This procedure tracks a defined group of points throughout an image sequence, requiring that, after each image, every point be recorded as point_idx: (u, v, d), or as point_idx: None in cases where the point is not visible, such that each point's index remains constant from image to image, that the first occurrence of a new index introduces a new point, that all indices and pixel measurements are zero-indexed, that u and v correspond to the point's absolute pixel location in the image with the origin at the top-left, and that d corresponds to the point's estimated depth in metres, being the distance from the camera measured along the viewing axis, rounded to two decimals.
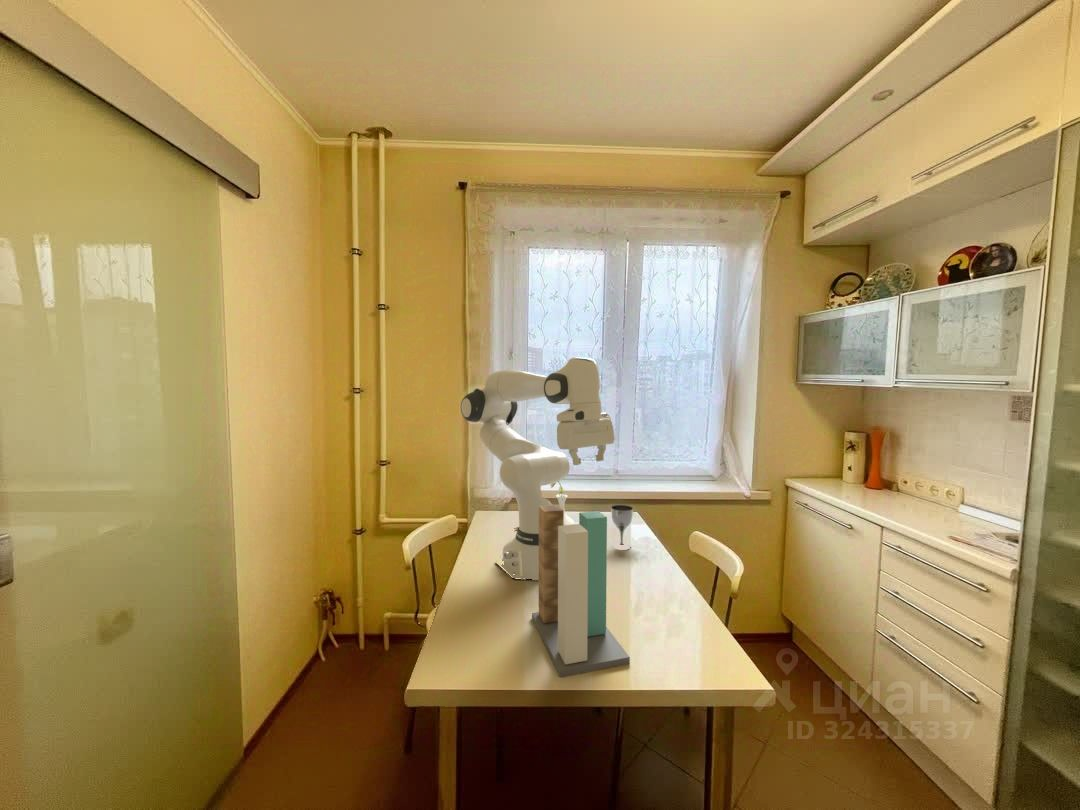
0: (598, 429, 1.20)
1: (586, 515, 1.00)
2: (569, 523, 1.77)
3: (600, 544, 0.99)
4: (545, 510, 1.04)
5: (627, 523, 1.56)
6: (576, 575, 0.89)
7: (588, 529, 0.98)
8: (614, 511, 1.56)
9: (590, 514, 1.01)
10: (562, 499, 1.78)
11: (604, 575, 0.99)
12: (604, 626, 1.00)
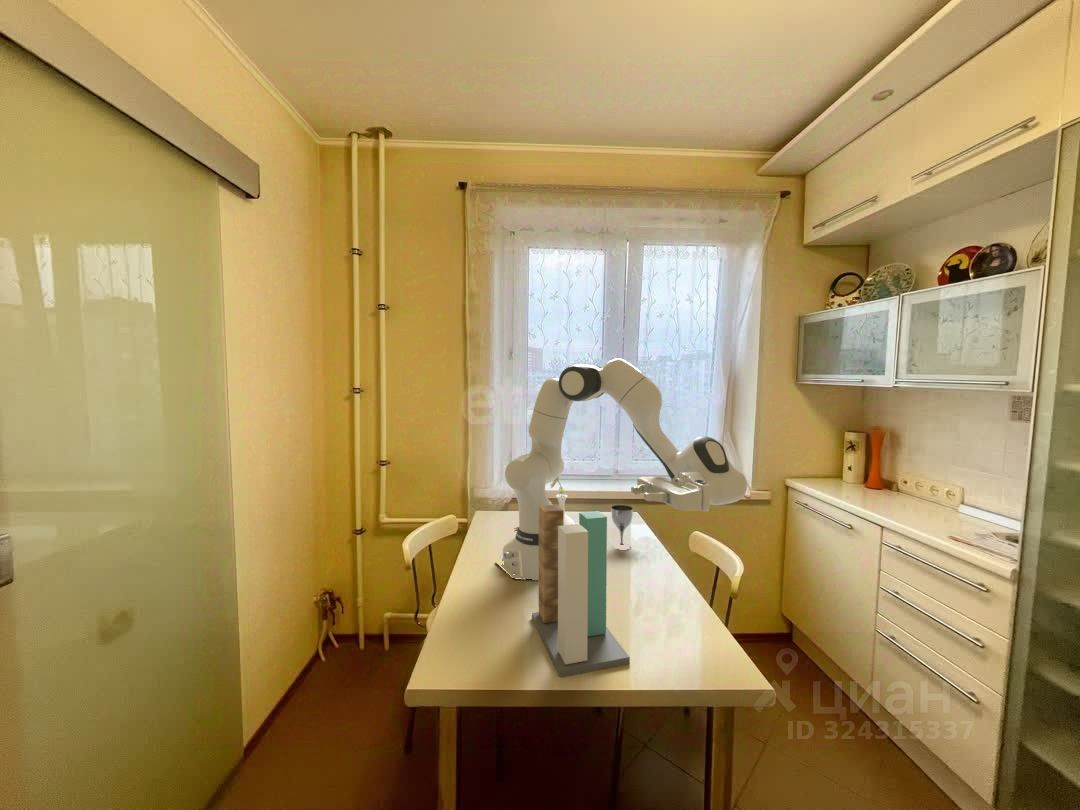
0: None
1: (586, 515, 1.00)
2: (569, 523, 1.77)
3: (600, 544, 0.99)
4: (545, 510, 1.04)
5: (627, 523, 1.56)
6: (576, 575, 0.89)
7: (588, 529, 0.98)
8: (614, 511, 1.56)
9: (590, 514, 1.01)
10: (562, 499, 1.78)
11: (604, 575, 0.99)
12: (604, 626, 1.00)
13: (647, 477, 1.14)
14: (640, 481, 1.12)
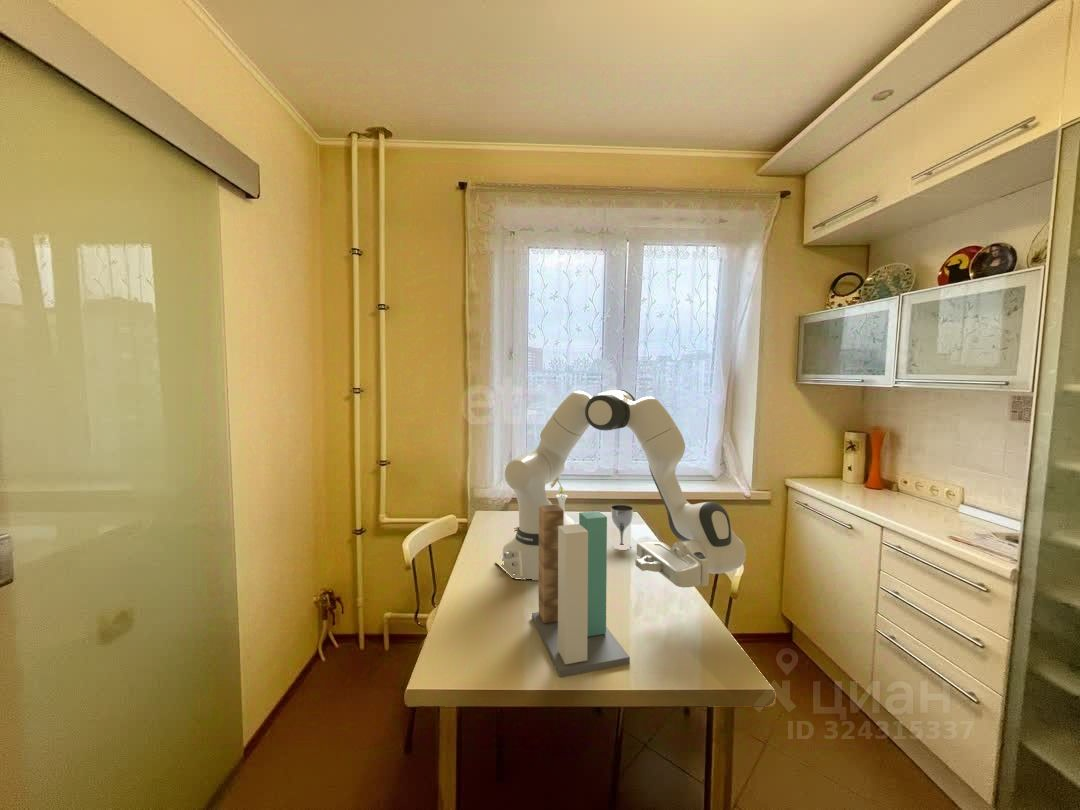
0: None
1: (586, 515, 1.00)
2: (569, 523, 1.77)
3: (600, 544, 0.99)
4: (545, 510, 1.04)
5: (627, 523, 1.56)
6: (576, 575, 0.89)
7: (588, 529, 0.98)
8: (614, 511, 1.56)
9: (590, 514, 1.01)
10: (562, 499, 1.78)
11: (604, 575, 0.99)
12: (604, 626, 1.00)
13: (646, 542, 1.15)
14: (639, 547, 1.13)
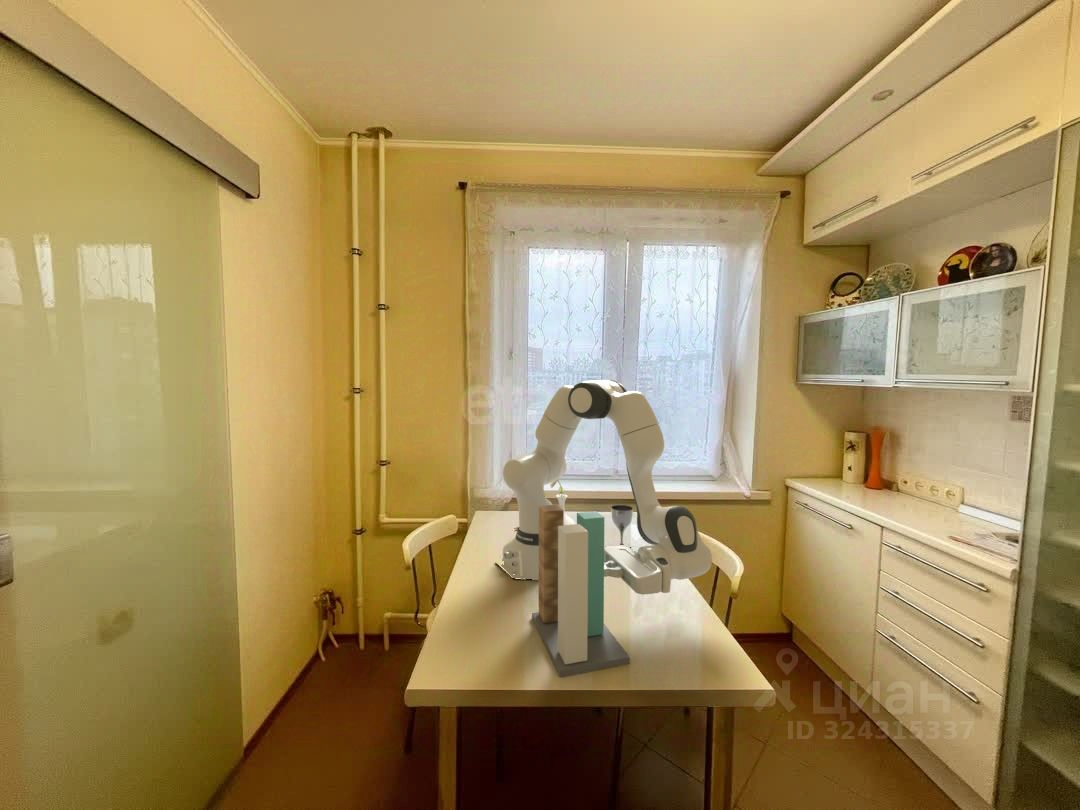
0: None
1: (583, 515, 1.00)
2: (569, 523, 1.77)
3: (597, 545, 0.99)
4: (545, 510, 1.04)
5: (627, 523, 1.56)
6: (576, 575, 0.89)
7: None
8: (614, 511, 1.56)
9: (588, 514, 1.01)
10: (562, 499, 1.78)
11: (601, 575, 0.99)
12: (602, 626, 1.00)
13: (612, 547, 1.12)
14: (604, 552, 1.10)
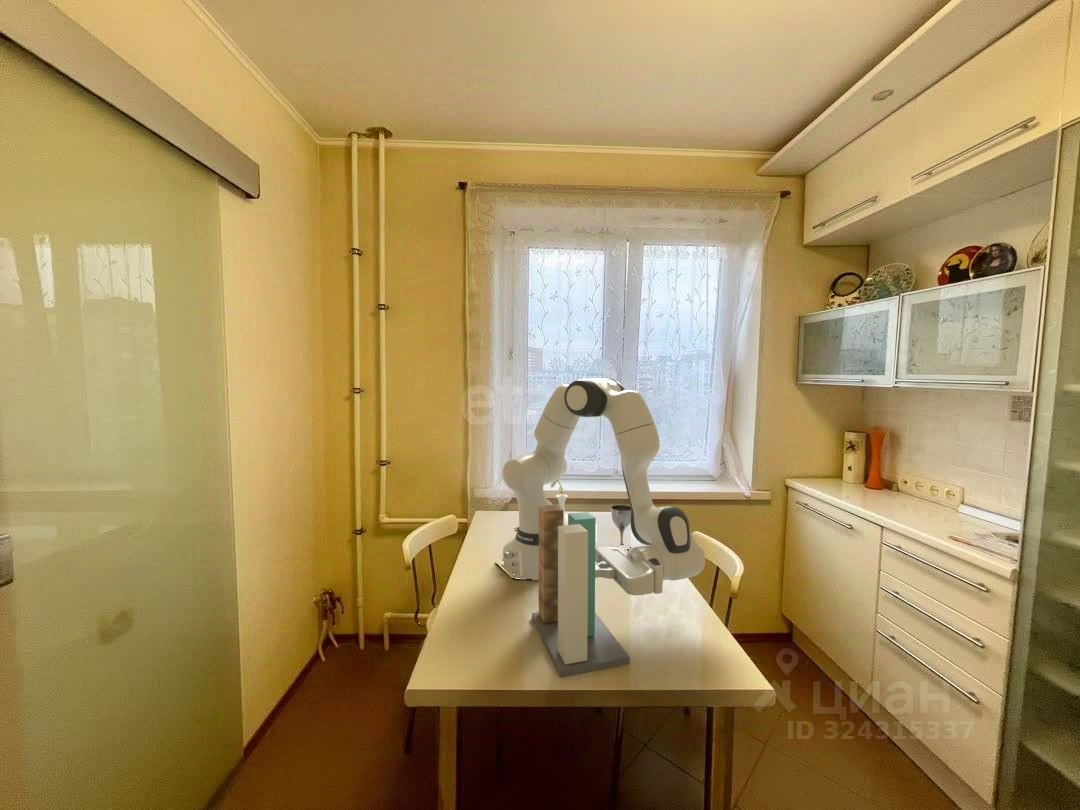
0: None
1: (575, 516, 0.99)
2: None
3: (588, 546, 0.98)
4: (545, 510, 1.04)
5: (627, 523, 1.56)
6: (576, 575, 0.89)
7: None
8: (614, 511, 1.56)
9: (579, 515, 1.00)
10: (562, 499, 1.78)
11: (593, 576, 0.99)
12: (593, 628, 0.99)
13: (604, 548, 1.11)
14: (597, 553, 1.10)
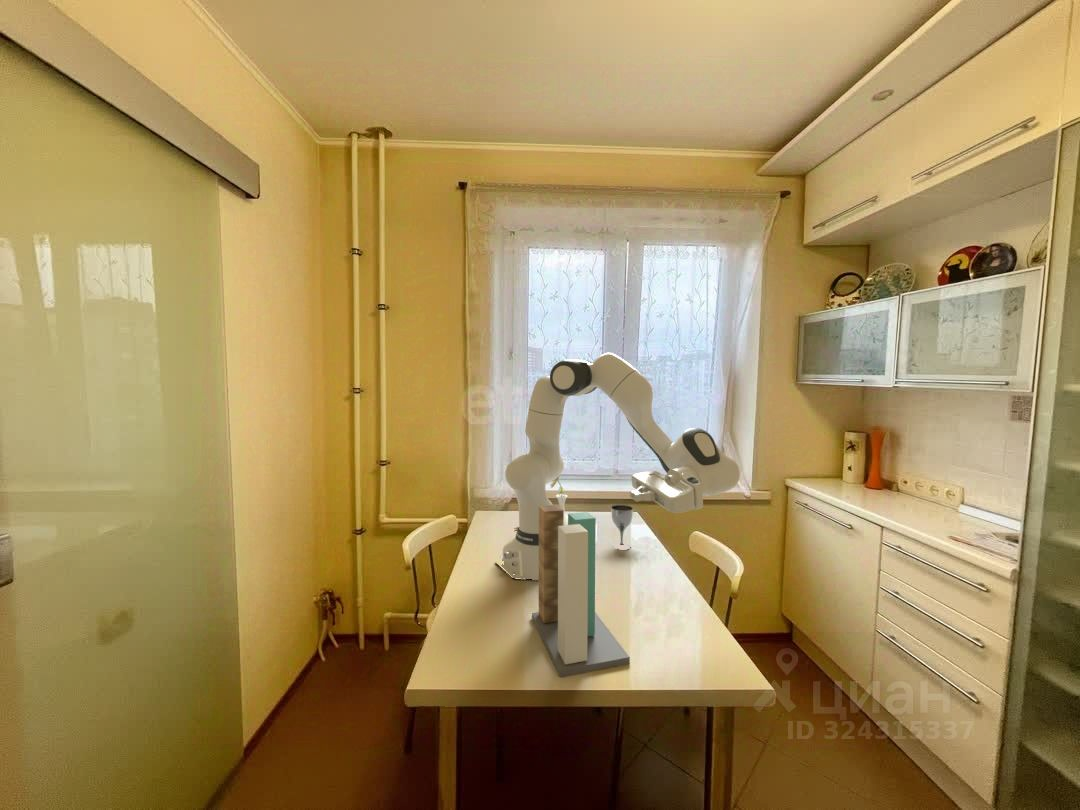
0: None
1: (575, 516, 0.99)
2: None
3: (588, 546, 0.98)
4: (545, 510, 1.04)
5: (627, 523, 1.56)
6: (576, 575, 0.89)
7: None
8: (614, 511, 1.56)
9: (579, 515, 1.00)
10: (562, 499, 1.78)
11: (593, 576, 0.99)
12: (593, 628, 0.99)
13: (641, 473, 1.15)
14: (634, 479, 1.13)
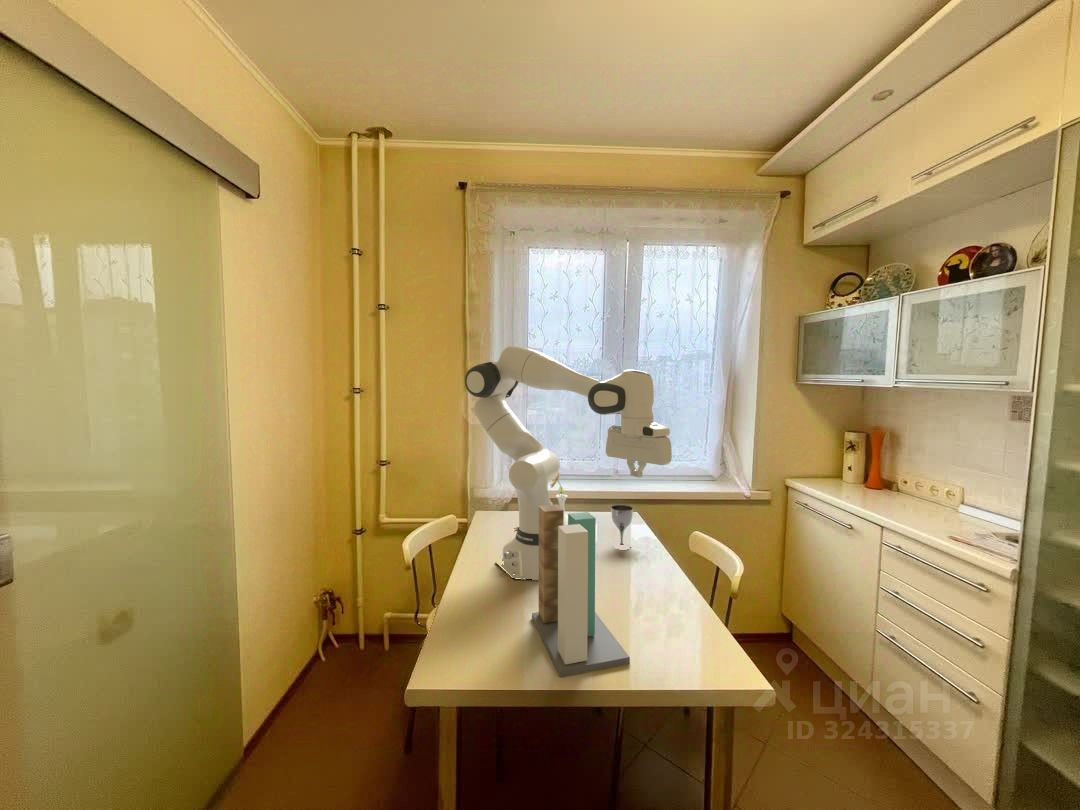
0: None
1: (575, 516, 0.99)
2: None
3: (588, 546, 0.98)
4: (545, 510, 1.04)
5: (627, 523, 1.56)
6: (576, 575, 0.89)
7: None
8: (614, 511, 1.56)
9: (579, 515, 1.00)
10: (562, 499, 1.78)
11: (593, 576, 0.99)
12: (593, 628, 0.99)
13: (608, 447, 1.24)
14: None
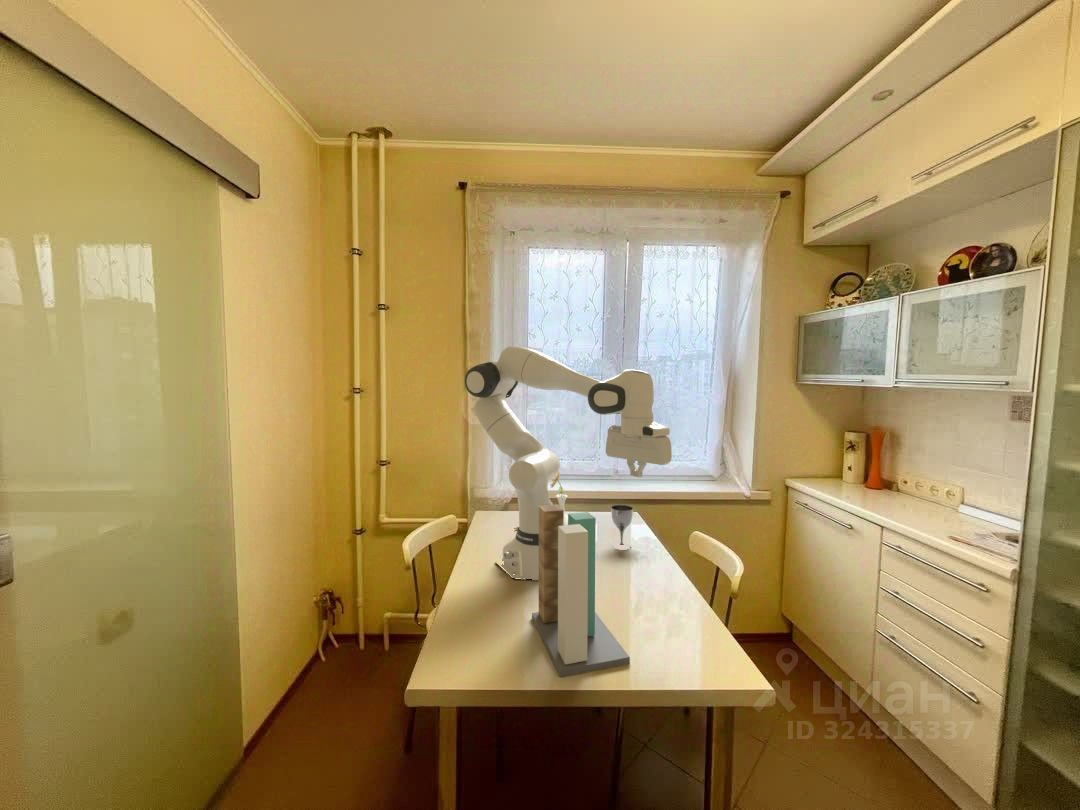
0: None
1: (575, 516, 0.99)
2: None
3: (588, 546, 0.98)
4: (545, 510, 1.04)
5: (627, 523, 1.56)
6: (576, 575, 0.89)
7: None
8: (614, 511, 1.56)
9: (579, 515, 1.00)
10: (562, 499, 1.78)
11: (593, 576, 0.99)
12: (593, 628, 0.99)
13: (608, 447, 1.24)
14: (612, 456, 1.24)
